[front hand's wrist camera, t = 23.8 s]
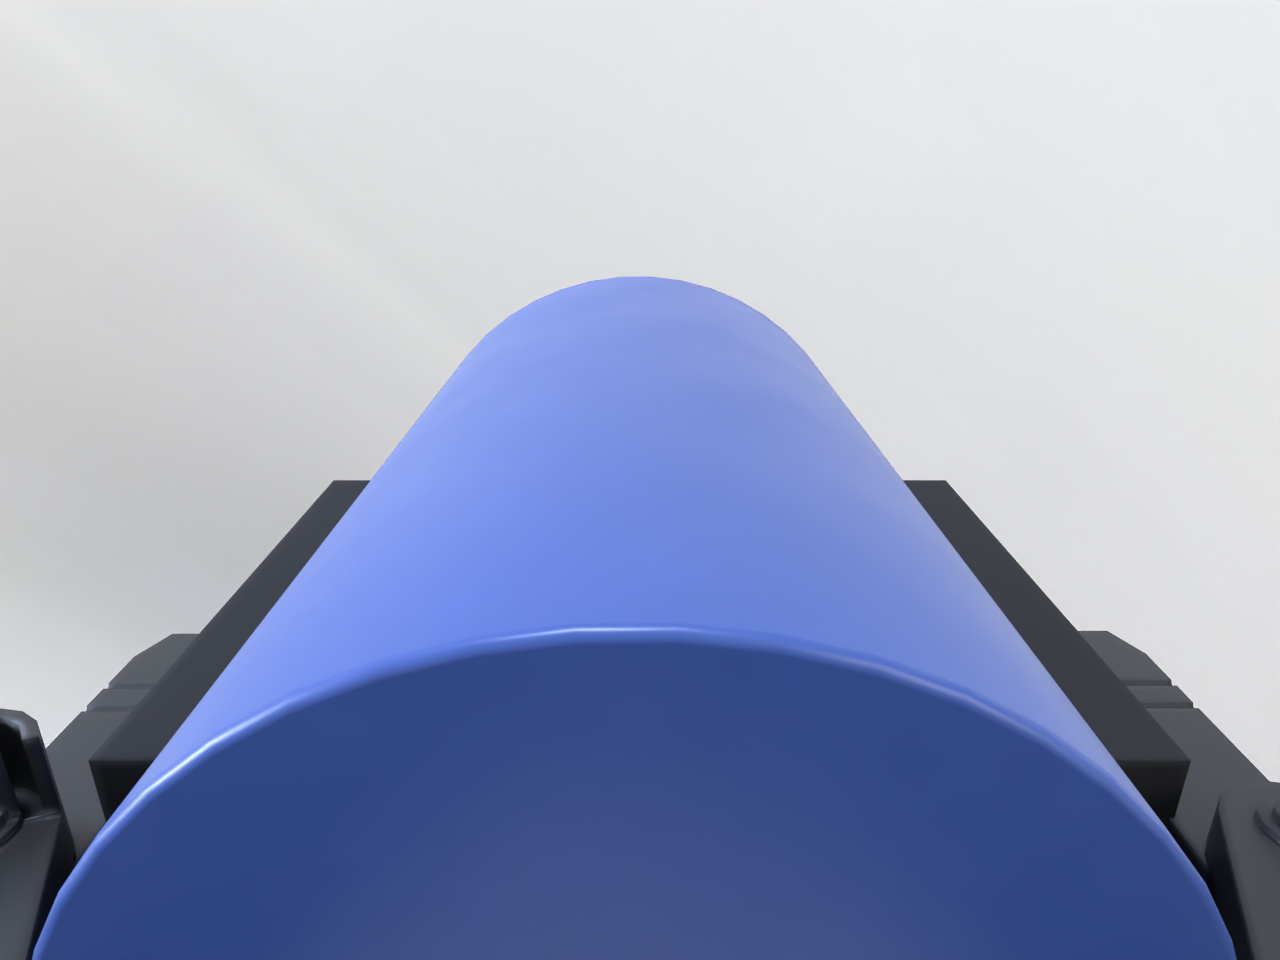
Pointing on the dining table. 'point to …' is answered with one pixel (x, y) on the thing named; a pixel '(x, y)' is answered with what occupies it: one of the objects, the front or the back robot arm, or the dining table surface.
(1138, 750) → the front robot arm
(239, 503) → the dining table surface
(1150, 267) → the dining table surface
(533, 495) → the canister
